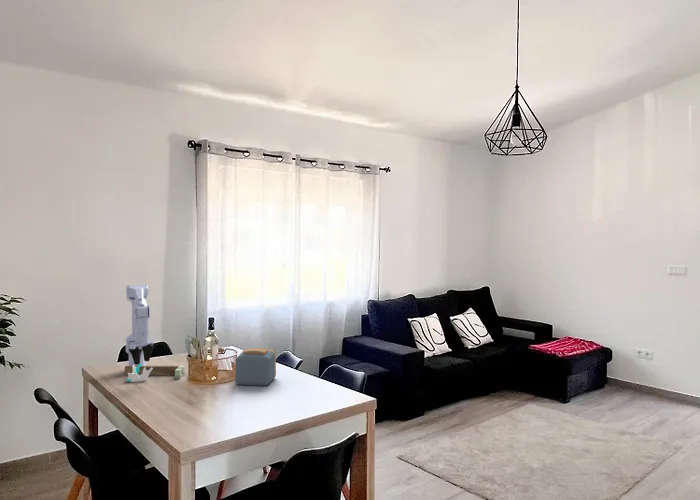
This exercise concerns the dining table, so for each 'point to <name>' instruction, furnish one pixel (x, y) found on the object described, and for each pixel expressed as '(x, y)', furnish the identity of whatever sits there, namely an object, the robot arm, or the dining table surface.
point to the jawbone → (135, 376)
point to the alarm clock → (255, 367)
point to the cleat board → (160, 370)
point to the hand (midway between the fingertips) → (141, 362)
